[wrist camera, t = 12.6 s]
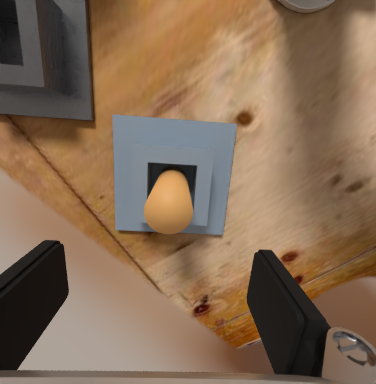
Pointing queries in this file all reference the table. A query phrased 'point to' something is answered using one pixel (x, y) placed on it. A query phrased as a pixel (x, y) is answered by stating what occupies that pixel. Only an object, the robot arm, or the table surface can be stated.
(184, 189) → the lock pin
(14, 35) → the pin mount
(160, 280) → the table surface
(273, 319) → the robot arm
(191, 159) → the socket block
